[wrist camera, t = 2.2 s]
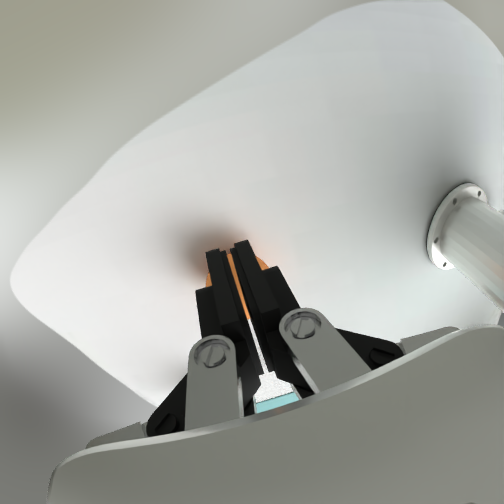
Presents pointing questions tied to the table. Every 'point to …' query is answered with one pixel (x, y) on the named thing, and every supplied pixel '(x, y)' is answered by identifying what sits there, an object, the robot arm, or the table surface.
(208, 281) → the ball
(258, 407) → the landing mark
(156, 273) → the table surface
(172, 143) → the table surface
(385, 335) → the table surface
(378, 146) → the table surface
